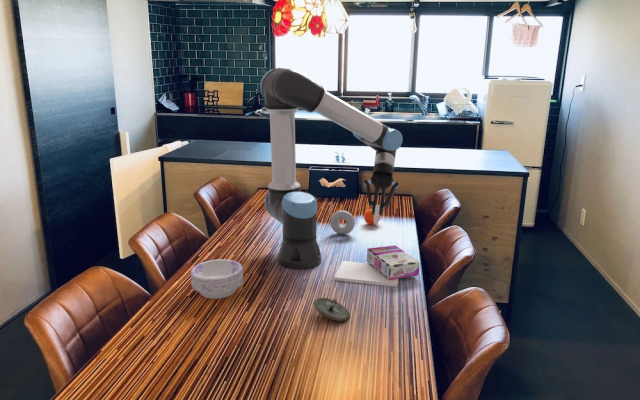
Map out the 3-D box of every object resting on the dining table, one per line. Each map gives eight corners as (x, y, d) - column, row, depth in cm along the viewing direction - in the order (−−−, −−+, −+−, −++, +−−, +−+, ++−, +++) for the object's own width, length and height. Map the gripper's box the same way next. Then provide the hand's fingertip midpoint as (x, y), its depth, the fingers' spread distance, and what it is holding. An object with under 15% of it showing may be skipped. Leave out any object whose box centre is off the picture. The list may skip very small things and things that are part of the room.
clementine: (380, 228, 212) (381, 211, 210) (364, 227, 212) (364, 211, 210) (379, 222, 220) (379, 206, 218) (363, 221, 220) (363, 206, 218)
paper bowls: (188, 286, 156) (186, 262, 154) (236, 278, 162) (235, 255, 160) (196, 308, 143) (195, 282, 140) (249, 298, 148) (248, 273, 146)
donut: (355, 234, 204) (356, 210, 202) (353, 236, 201) (354, 212, 199) (331, 231, 207) (331, 208, 204) (329, 234, 204) (329, 210, 201)
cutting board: (342, 263, 175) (342, 260, 174) (400, 269, 170) (400, 266, 170) (334, 280, 162) (334, 277, 161) (397, 286, 157) (397, 283, 157)
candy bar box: (366, 261, 174) (388, 280, 159) (366, 248, 173) (389, 265, 158) (395, 258, 178) (419, 276, 163) (396, 244, 177) (420, 261, 162)
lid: (313, 306, 144) (313, 290, 143) (348, 307, 144) (349, 291, 143) (313, 325, 134) (313, 308, 133) (350, 326, 134) (351, 309, 133)
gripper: (401, 174, 193) (394, 228, 182) (367, 171, 196) (358, 225, 185) (401, 162, 187) (393, 218, 176) (366, 160, 190) (356, 215, 178)
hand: (375, 222), depth 180 cm, fingers closed
